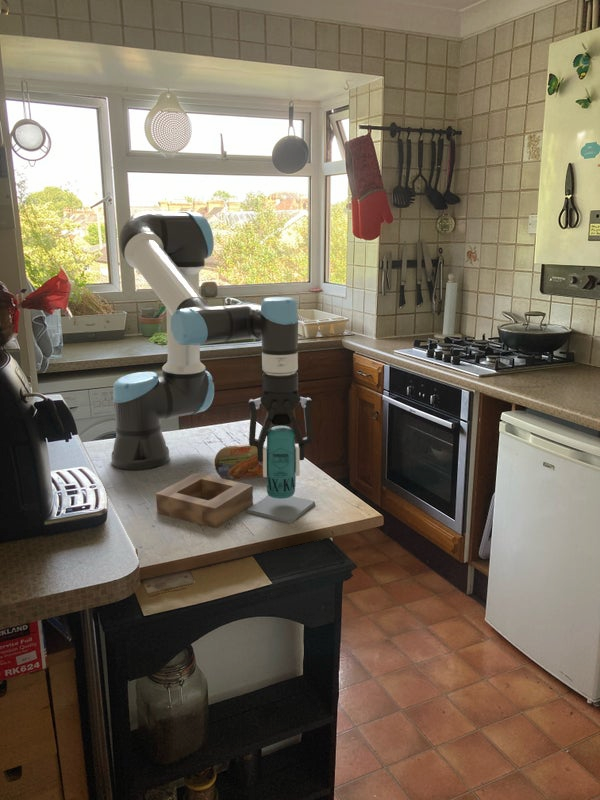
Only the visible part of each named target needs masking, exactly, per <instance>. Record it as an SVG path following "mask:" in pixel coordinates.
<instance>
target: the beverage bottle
mask: <svg viewBox="0 0 600 800" xmlns="http://www.w3.org/2000/svg"><path fill="white" fill-rule="evenodd" d="M271 424H272V425H274V426H273V427H270V428H269V431H268V433H267V436H266V446H267V477H265V479H266V485H265V486H266V487H265V488H266V493H267V496H268V495H269V496H270V497H273V498H279V499H283V498H288V497H291V496H295V492H296V477H297V476H296V474H295V468H296V467H295V457H296V456H295V444H296V435H295V432H294V429H293V428H291V427H290V426H288V425H290V424H291V421H290V418H289V416H288V415H274V417H273V420H272V422H271Z"/></svg>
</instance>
